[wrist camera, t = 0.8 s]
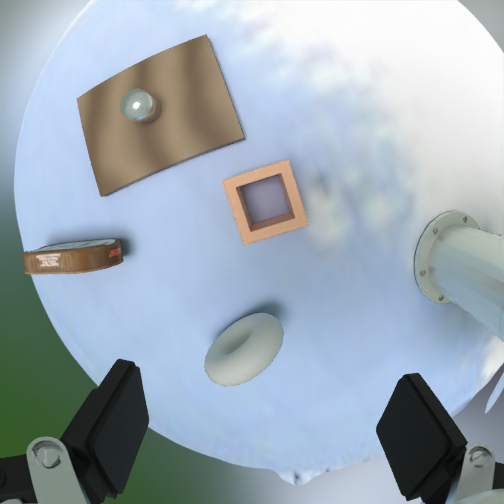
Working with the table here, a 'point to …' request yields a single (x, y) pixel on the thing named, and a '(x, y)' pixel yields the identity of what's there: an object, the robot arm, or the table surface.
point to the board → (169, 122)
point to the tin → (74, 257)
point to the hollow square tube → (272, 225)
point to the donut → (244, 349)
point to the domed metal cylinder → (140, 107)
